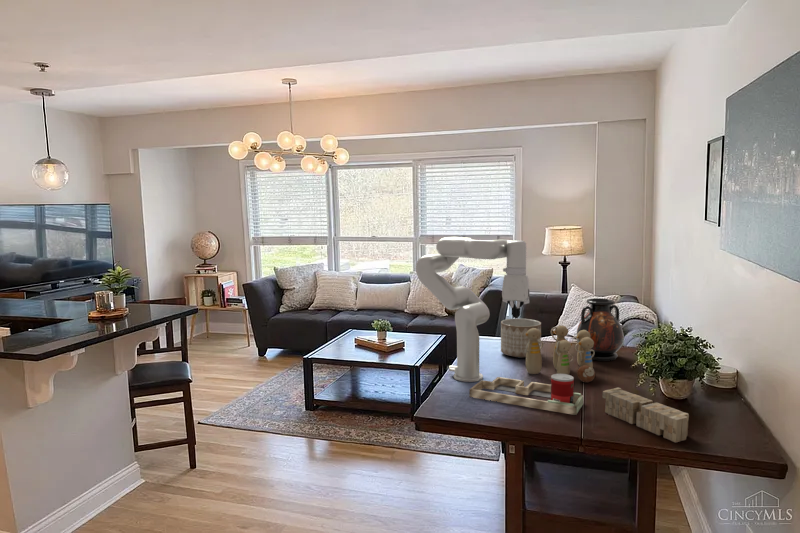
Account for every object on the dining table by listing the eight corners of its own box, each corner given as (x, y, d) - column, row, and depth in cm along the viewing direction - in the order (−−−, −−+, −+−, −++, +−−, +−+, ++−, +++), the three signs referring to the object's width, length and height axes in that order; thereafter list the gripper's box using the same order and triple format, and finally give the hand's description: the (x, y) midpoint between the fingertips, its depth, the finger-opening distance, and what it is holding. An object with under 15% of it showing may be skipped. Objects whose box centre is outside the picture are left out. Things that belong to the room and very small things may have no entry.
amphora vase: (608, 350, 272) (609, 296, 269) (632, 362, 250) (634, 303, 247) (568, 352, 269) (569, 297, 266) (588, 364, 247) (590, 304, 245)
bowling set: (563, 390, 213) (564, 340, 210) (520, 373, 236) (520, 328, 234) (629, 376, 230) (631, 330, 228) (583, 361, 253) (584, 319, 251)
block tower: (691, 441, 167) (617, 408, 194) (693, 415, 166) (618, 385, 192) (674, 446, 164) (601, 411, 190) (676, 420, 163) (602, 389, 189)
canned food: (575, 409, 192) (576, 380, 191) (552, 409, 193) (553, 379, 191) (570, 402, 199) (571, 373, 198) (548, 401, 200) (549, 373, 199)
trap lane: (469, 396, 206) (469, 387, 206) (487, 382, 224) (487, 373, 223) (576, 415, 187) (576, 405, 186) (587, 397, 204) (587, 388, 204)
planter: (545, 360, 256) (545, 326, 254) (504, 360, 256) (504, 326, 254) (535, 349, 275) (535, 318, 273) (497, 350, 275) (498, 318, 274)
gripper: (494, 271, 211) (494, 317, 213) (532, 273, 204) (531, 320, 206) (501, 269, 218) (500, 314, 220) (537, 271, 211) (537, 317, 212)
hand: (515, 317), depth 213 cm, fingers closed
